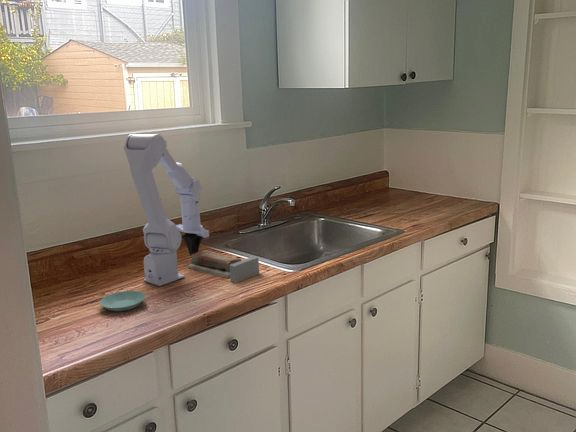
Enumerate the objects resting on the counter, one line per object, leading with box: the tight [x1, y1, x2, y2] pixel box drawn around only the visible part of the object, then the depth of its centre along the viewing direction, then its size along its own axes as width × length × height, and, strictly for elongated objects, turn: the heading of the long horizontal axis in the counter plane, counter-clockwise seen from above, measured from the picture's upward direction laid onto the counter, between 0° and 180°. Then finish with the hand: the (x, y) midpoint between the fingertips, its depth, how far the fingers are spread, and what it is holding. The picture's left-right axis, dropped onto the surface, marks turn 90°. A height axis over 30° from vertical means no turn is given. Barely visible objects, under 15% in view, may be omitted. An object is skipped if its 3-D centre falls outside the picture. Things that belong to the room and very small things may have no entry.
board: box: [229, 256, 260, 283], centre depth 173 cm, size 10×2×5 cm, turn 138°
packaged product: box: [187, 249, 242, 279], centre depth 182 cm, size 18×5×10 cm
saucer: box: [99, 290, 147, 312], centre depth 156 cm, size 12×12×2 cm
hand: (194, 255), depth 189 cm, fingers closed
